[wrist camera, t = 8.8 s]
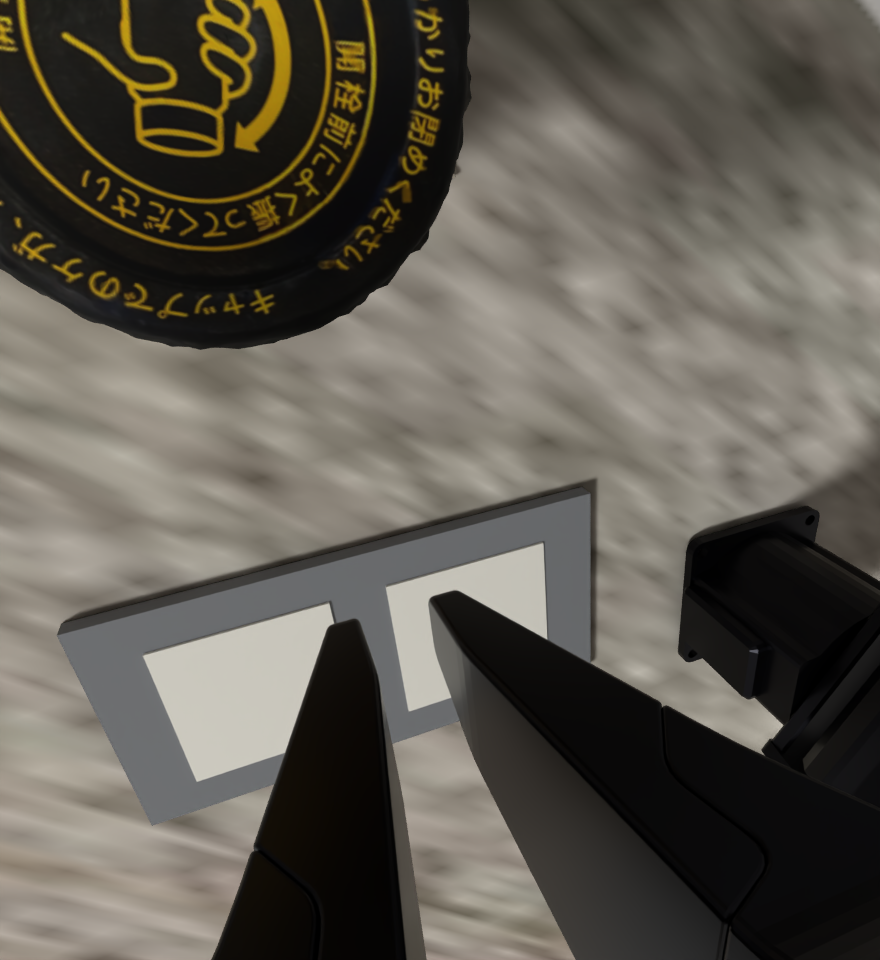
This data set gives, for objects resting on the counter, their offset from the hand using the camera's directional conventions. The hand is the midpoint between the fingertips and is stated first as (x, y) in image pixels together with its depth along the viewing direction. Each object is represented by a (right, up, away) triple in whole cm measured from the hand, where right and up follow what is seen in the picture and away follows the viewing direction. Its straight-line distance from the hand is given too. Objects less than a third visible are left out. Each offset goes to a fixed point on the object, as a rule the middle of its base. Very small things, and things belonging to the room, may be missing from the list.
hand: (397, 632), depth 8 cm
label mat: (-2, -4, +15) cm, 16 cm away
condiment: (-4, +11, +7) cm, 14 cm away
